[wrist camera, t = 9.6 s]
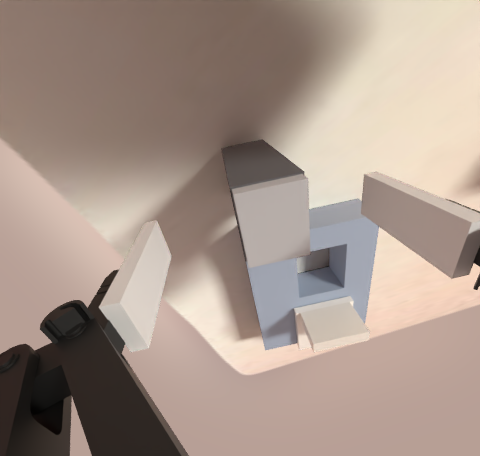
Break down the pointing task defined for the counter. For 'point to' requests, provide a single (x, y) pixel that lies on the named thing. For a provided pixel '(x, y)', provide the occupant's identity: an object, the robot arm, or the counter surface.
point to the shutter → (329, 325)
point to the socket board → (317, 272)
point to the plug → (268, 203)
